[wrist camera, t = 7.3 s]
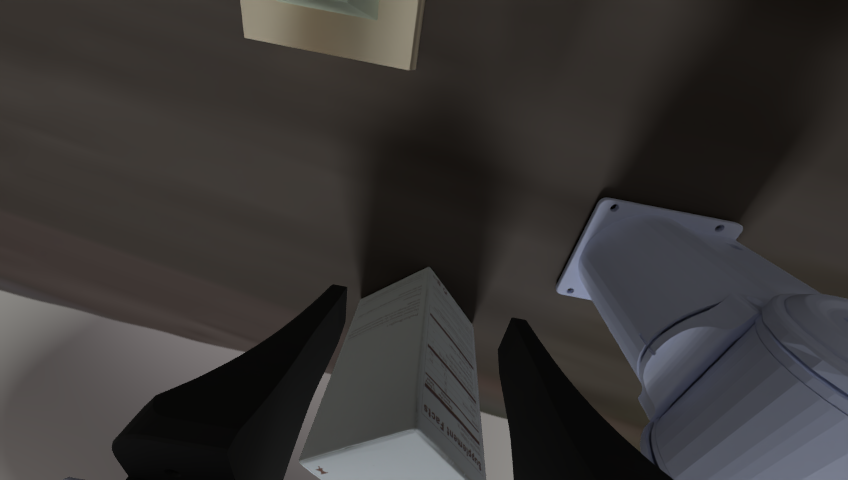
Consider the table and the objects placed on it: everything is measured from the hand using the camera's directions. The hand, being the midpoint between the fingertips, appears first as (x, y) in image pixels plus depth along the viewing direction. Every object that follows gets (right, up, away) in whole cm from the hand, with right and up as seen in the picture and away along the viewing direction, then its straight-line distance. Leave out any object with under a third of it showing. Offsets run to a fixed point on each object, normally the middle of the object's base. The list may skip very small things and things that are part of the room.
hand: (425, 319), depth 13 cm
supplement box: (-1, -3, +13) cm, 14 cm away
